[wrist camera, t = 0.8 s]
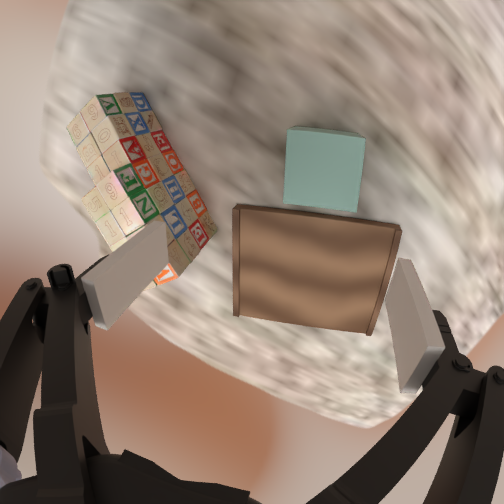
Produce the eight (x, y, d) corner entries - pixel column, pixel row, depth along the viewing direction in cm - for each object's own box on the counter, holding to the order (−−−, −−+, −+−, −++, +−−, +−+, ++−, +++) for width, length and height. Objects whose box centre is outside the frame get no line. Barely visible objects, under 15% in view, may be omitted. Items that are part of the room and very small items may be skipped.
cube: (295, 125, 31) (287, 129, 25) (357, 133, 29) (365, 138, 23) (291, 185, 34) (283, 203, 28) (351, 192, 33) (356, 212, 26)
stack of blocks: (112, 117, 35) (46, 130, 24) (143, 91, 32) (76, 94, 22) (183, 246, 41) (137, 294, 31) (219, 230, 39) (178, 279, 28)
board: (237, 204, 36) (232, 209, 35) (398, 225, 33) (402, 231, 31) (236, 307, 44) (233, 315, 42) (370, 327, 40) (371, 336, 38)
